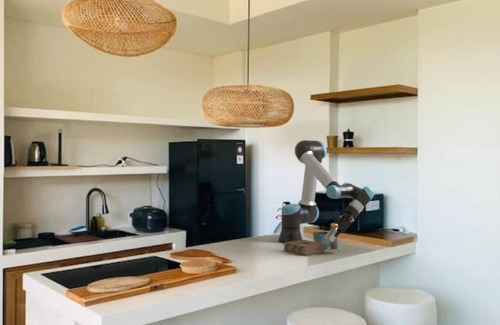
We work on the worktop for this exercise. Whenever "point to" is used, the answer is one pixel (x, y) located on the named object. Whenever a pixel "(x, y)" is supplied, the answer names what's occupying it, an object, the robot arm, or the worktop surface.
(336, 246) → the metal pin
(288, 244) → the block
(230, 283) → the worktop surface
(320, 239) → the flower pot
